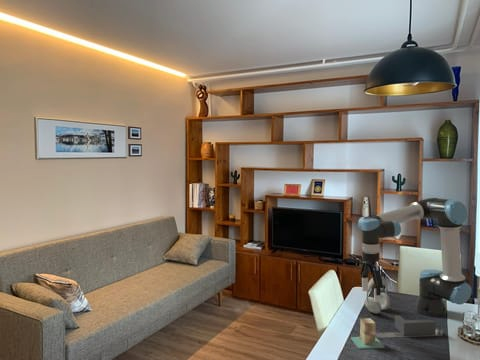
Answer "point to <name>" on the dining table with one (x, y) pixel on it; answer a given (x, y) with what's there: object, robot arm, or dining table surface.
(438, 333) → the rail
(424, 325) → the grey l-shaped block
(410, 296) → the dining table surface
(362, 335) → the beech block
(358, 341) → the pad
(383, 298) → the headphones
